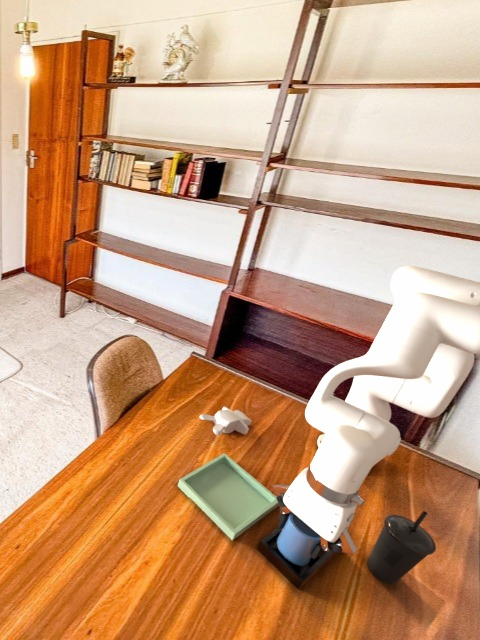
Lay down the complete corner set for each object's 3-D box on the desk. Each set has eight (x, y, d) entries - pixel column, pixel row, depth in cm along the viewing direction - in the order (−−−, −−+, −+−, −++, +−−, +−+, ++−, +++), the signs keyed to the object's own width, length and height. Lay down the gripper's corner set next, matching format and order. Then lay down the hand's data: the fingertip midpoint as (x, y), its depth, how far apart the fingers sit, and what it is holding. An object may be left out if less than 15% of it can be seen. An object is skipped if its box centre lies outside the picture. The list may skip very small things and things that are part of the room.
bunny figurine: (261, 423, 116) (222, 430, 111) (255, 436, 118) (216, 443, 113) (237, 401, 124) (199, 406, 119) (231, 414, 126) (194, 419, 121)
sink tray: (221, 459, 109) (224, 452, 108) (277, 507, 97) (280, 500, 95) (177, 486, 101) (179, 479, 100) (231, 541, 89) (234, 534, 88)
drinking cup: (412, 597, 80) (464, 537, 71) (370, 588, 81) (416, 527, 72) (389, 558, 87) (433, 498, 78) (350, 550, 88) (390, 490, 79)
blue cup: (286, 530, 89) (300, 504, 85) (316, 556, 84) (331, 530, 80) (270, 543, 86) (283, 518, 82) (299, 571, 81) (314, 545, 77)
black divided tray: (299, 515, 95) (304, 506, 94) (340, 549, 88) (346, 540, 87) (255, 550, 87) (260, 541, 86) (297, 591, 80) (303, 582, 79)
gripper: (394, 512, 70) (354, 569, 78) (295, 442, 84) (270, 497, 92) (373, 532, 67) (334, 590, 75) (274, 456, 80) (249, 512, 88)
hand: (299, 538), depth 83 cm, fingers closed on blue cup, 6 cm apart
